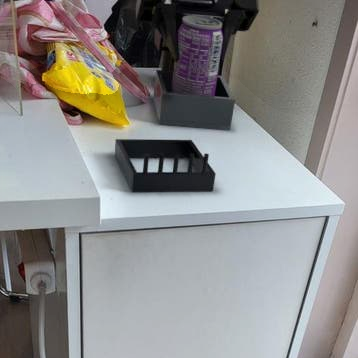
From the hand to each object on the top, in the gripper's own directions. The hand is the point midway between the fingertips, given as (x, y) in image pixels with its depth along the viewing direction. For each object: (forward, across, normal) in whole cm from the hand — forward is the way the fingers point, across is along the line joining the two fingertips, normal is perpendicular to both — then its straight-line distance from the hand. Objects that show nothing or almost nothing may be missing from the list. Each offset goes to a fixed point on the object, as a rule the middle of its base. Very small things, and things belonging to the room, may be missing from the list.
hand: (199, 61), depth 102 cm
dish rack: (+22, -9, -10) cm, 25 cm away
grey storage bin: (+5, 0, +7) cm, 9 cm away
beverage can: (+4, 0, +6) cm, 7 cm away
